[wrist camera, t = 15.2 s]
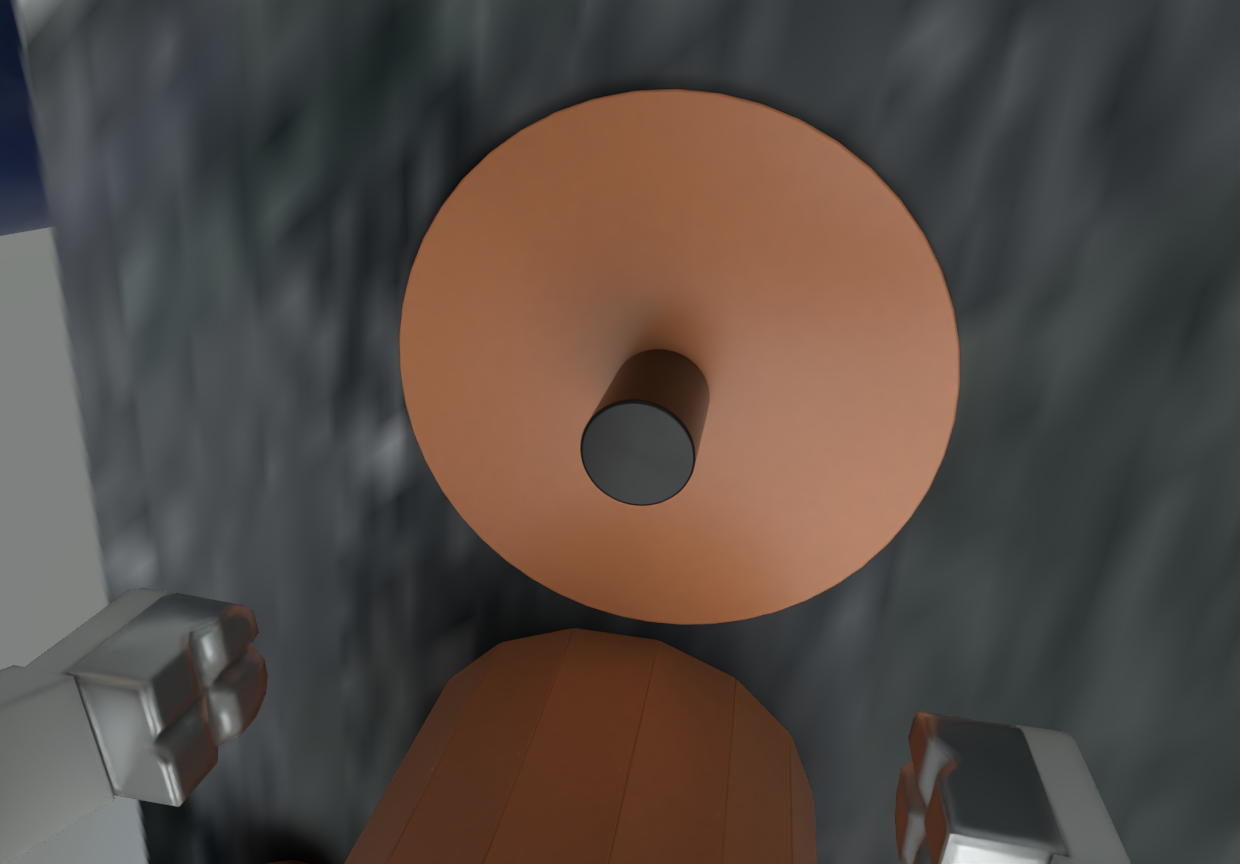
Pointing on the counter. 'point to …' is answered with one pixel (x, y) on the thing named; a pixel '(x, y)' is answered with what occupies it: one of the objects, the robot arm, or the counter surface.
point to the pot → (594, 764)
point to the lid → (679, 356)
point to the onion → (288, 862)
